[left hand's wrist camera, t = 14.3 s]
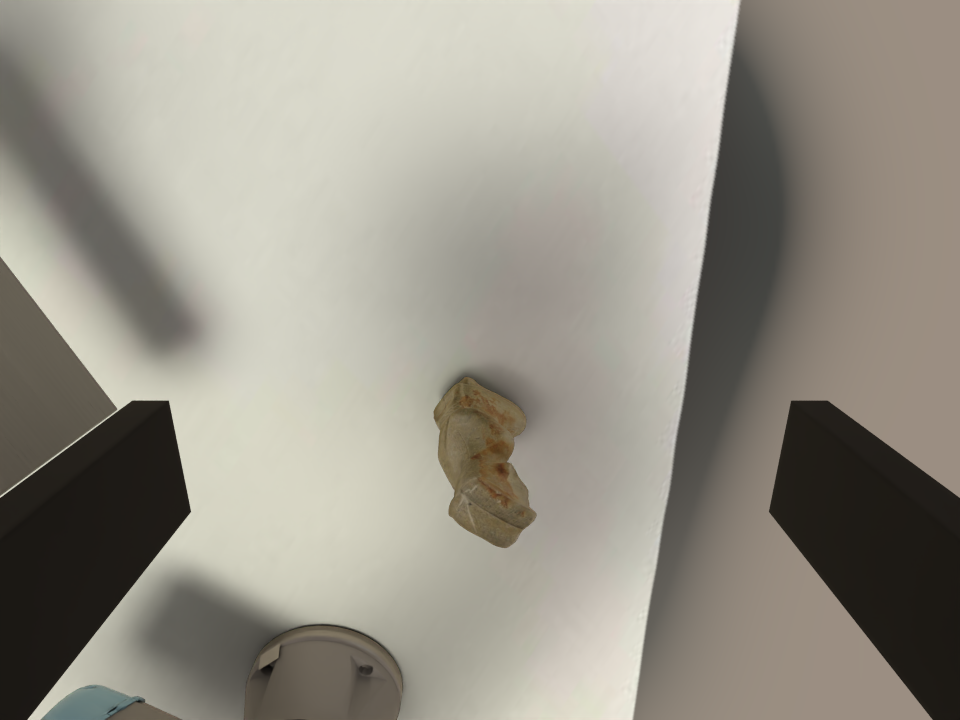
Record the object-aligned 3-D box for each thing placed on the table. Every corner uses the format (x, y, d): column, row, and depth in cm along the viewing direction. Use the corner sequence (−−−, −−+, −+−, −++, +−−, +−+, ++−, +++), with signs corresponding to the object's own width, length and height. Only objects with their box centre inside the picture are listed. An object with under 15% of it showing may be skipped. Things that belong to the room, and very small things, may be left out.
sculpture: (490, 454, 51) (494, 574, 36) (425, 405, 49) (403, 510, 35) (535, 407, 49) (558, 514, 35) (469, 355, 47) (465, 444, 33)
